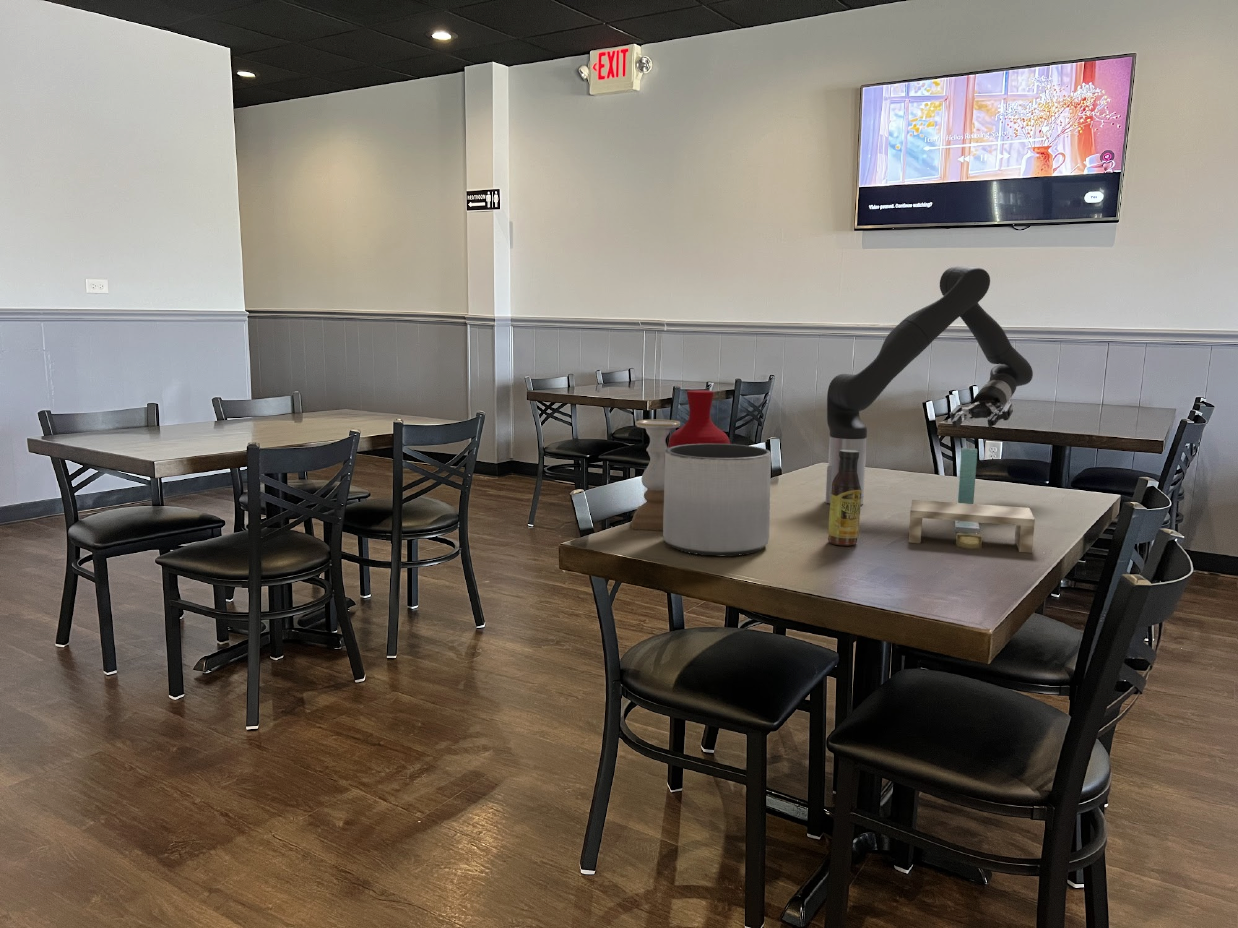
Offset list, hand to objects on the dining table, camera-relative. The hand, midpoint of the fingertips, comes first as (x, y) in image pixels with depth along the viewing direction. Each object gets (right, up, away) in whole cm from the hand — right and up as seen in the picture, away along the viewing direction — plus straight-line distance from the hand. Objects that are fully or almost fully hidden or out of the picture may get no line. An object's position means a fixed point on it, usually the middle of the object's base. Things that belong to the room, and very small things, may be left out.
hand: (972, 424), depth 220 cm
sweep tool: (-7, -24, -13) cm, 27 cm away
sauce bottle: (-41, -27, -34) cm, 59 cm away
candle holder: (-80, -24, -18) cm, 85 cm away
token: (-15, -27, -35) cm, 47 cm away
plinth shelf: (-13, -26, -31) cm, 43 cm away
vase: (-69, -22, -7) cm, 73 cm away
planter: (-68, -27, -35) cm, 81 cm away
